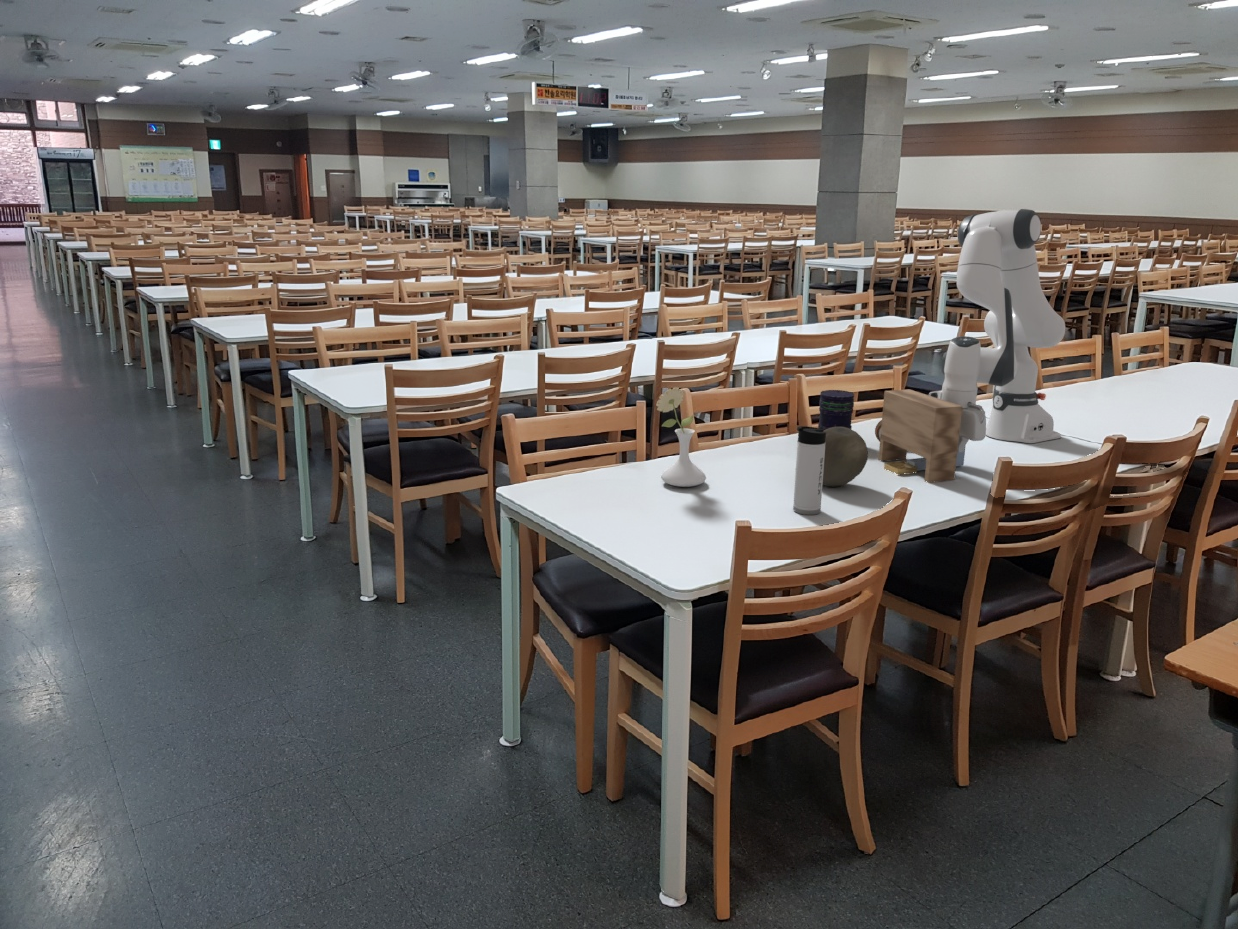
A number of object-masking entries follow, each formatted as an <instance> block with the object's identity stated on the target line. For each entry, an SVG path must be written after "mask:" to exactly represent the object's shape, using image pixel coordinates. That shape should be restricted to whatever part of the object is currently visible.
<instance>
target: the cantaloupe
mask: <svg viewBox="0 0 1238 929" xmlns="http://www.w3.org/2000/svg"><path fill="white" fill-rule="evenodd" d="M824 432H826V438H825V442H826V443H825V457H824V471H823V484H822V486H826V487H830V488H831V487H840V486H844V485H846V484H848V483H850V482H852V481H853V480H855V479H856V477H858V476H859V475H860V474H861V473H862V472H863V470H864V468H865V466H866V464H867V462H868V460H869V448H868V447H867V444H866V440H864V438H863V437H862V436H861V435H860V434H859V433H858V432H856V431H854V429H849V428H846V427H832V428H828V429H826V430H824Z"/></svg>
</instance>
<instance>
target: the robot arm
mask: <svg viewBox="0 0 1238 929" xmlns="http://www.w3.org/2000/svg"><path fill="white" fill-rule="evenodd" d="M1041 221H1042V220H1041V218H1040V215H1039V214H1038V213H1037V212H1036V211H1035V210H1033V209H1027V208H1021V209H1002V210H996V211H991V212H985V213H980V214H978V213H976V214H971V215H969V216H966V217H964V218H963V220H962V221H961V222H960V223H959V225H958V228H957V240H958V244H959V246H960V248H961V250H960V253H959V259H958V262H957V272H956V288H957V290H958V292H959V293H960V294H961V296H963V297H964V298H965V299H966V300H968V301H970V302H972V303H974V304H975V305H978V306H981V307H983V308H985V309H987V310H988V312H987V314H986V316H985V318H984V322H983V327H984V328H983V329H984V331H985V334H986V335H987V336H988V337H989V339H990V340H991V342H992V344H993V347H985V346H982V347H981V341H980V340H979V339H978V338H975V337H973V336H966V335H964V336H961V335H960V336H956V337H953V338H952V339H950V341H949V344H948V347H947V350H946V352H943V355H942V363H941V373H942V374H943V375H944V380H943V383H942V385H941V386H942V388H941V390H935V391H930V392H929V393H928V395H929V396H932V397H935V398H938V399H941V400H945V401H948V402H951V403H954V404H957V405H960V406H962V415H961V424H960V432H959V440H960V442H959V443H958V450H957V452H963V451H964V447H965V448H966V446H965V445H967V443H968V442H969V441H972V442H979V441H984V440H985V438H986V436H987V437H990V438H992V439H996V440H1001V441H1008V442H1018V443H1024V444H1036V443H1040V442H1046V441H1051V440H1055V439H1056V440H1057V439H1060V438H1061V437H1062V434H1061V433H1060V432H1058V431H1056V430H1054V425H1055V424H1054V422H1055V421H1054V418H1053V416H1052V415H1051V414H1050V413H1049V412H1047V411H1046V409H1044V408H1043V407H1042V406H1041V405H1040V403H1039V400H1041V401H1045V399H1046V398H1047V394H1046V393H1043V392H1038V393H1037V392H1036V387H1037V379H1038V374H1039V372H1038V371H1039V367H1038V364H1037V362H1036V361H1035V360H1034V359H1033V358H1032V357H1031V355H1030V352H1029V348H1034V349H1047V348H1048V349H1049V348H1054V347H1055V346H1057V345H1058V344H1060V343H1061V342H1062V341H1063V338H1064V337H1065V334H1066V323H1065V320H1064V318H1063V317H1062V316H1060V315H1059V314H1058V313H1057V312H1056V311H1055V309H1053V307H1052V305H1051V304H1050V303H1049V301H1048V300H1047V298H1046V296H1045V294H1044V291H1043V289H1042V285H1041V280H1040V274H1039V273H1040V272H1039V266H1038V258H1037V251H1036V246H1035V244H1036V243H1037V242H1038V241H1039V239H1040V237H1041V233H1042V232H1041V231H1042V222H1041ZM1028 347H1029V348H1028ZM978 384H986V385H989V386H995V387H994V389H993V392H992V393H993V395H992V407H991V411H990V415H989V420H988V423H987V418H986V411H985V410H984V408H983V406H982V405H980V404H977V396H978Z"/></svg>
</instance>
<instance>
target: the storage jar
mask: <svg viewBox="0 0 1238 929" xmlns="http://www.w3.org/2000/svg"><path fill="white" fill-rule="evenodd" d="M854 398H855V393H854V392H851V391H847V390H840V389H839V390H838V389H827V390H821V391H820V397H819V403H818V404H819V408H818V411H819V422H818V424H817V426H818V427H817V428H819V429H822V430H823V431H824V430H826V429H828V428H832V427H846V428H849V429H851V430H853V429H852V428H853V427H852V417H853V413H854V405H855V402H854V400H855V399H854Z"/></svg>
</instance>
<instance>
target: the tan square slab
mask: <svg viewBox="0 0 1238 929" xmlns="http://www.w3.org/2000/svg"><path fill="white" fill-rule="evenodd" d="M907 462H908V461H904V460H901V461H900V460H898V461H891V462H889V461H888V462H884V466H883V469H884V470H885V469H886V470H885V471H887V470H889V471H891V472H895V473H896V474H904V473H913V472H914V473H915V472H917V473H918V471H917V467H916V466H914V465H911V464H909V463H907ZM889 471H888V472H889ZM891 472H890V473H891Z"/></svg>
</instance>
